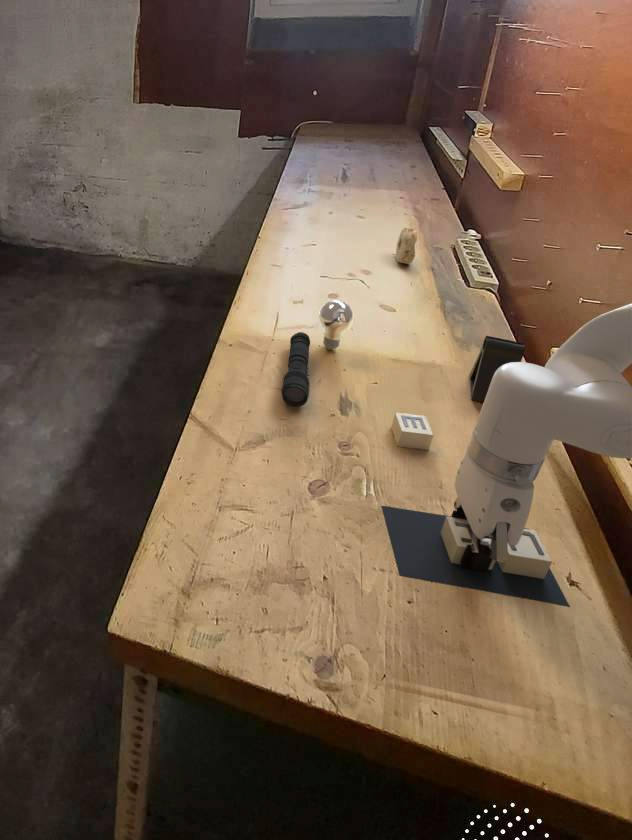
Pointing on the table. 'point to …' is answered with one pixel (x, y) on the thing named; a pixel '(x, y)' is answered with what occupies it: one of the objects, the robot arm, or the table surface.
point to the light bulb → (335, 321)
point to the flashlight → (297, 371)
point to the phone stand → (492, 363)
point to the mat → (430, 561)
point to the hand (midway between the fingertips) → (466, 548)
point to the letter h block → (459, 538)
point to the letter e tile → (412, 431)
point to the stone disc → (406, 245)
